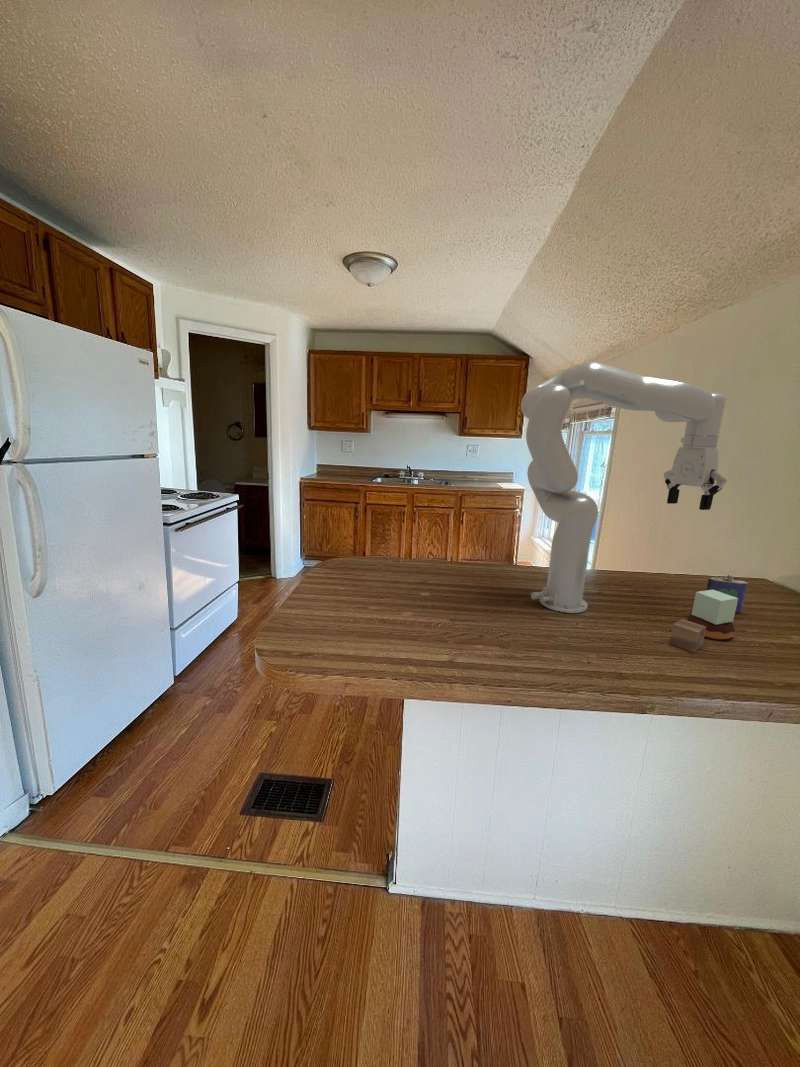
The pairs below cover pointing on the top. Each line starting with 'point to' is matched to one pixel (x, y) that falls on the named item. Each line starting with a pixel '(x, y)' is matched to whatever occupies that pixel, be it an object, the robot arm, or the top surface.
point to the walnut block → (687, 635)
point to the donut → (714, 628)
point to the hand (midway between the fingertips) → (687, 506)
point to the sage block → (714, 606)
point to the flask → (729, 589)
